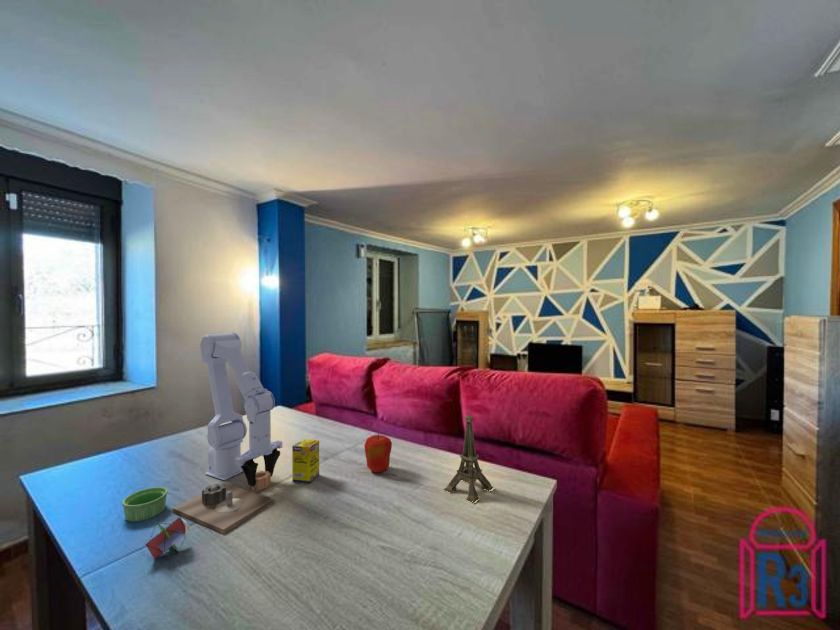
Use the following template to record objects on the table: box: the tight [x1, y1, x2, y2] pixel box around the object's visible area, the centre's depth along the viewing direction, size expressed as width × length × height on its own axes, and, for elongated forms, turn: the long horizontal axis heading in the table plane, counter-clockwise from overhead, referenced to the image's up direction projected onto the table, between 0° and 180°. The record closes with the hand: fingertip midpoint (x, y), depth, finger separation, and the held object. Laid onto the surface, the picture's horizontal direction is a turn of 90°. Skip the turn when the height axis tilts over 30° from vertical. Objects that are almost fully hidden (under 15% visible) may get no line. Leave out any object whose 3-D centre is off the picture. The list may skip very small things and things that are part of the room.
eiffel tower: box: [442, 407, 494, 505], centre depth 98 cm, size 11×11×25 cm
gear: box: [249, 470, 272, 491], centre depth 101 cm, size 5×5×3 cm
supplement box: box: [291, 438, 320, 484], centre depth 105 cm, size 6×6×11 cm
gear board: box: [171, 482, 274, 535], centre depth 90 cm, size 20×14×4 cm
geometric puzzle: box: [145, 516, 191, 560], centre depth 73 cm, size 7×7×8 cm
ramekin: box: [122, 486, 169, 522], centre depth 88 cm, size 9×9×4 cm
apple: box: [364, 433, 393, 474], centre depth 110 cm, size 9×8×12 cm
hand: (260, 480), depth 101 cm, fingers closed on gear, 5 cm apart
